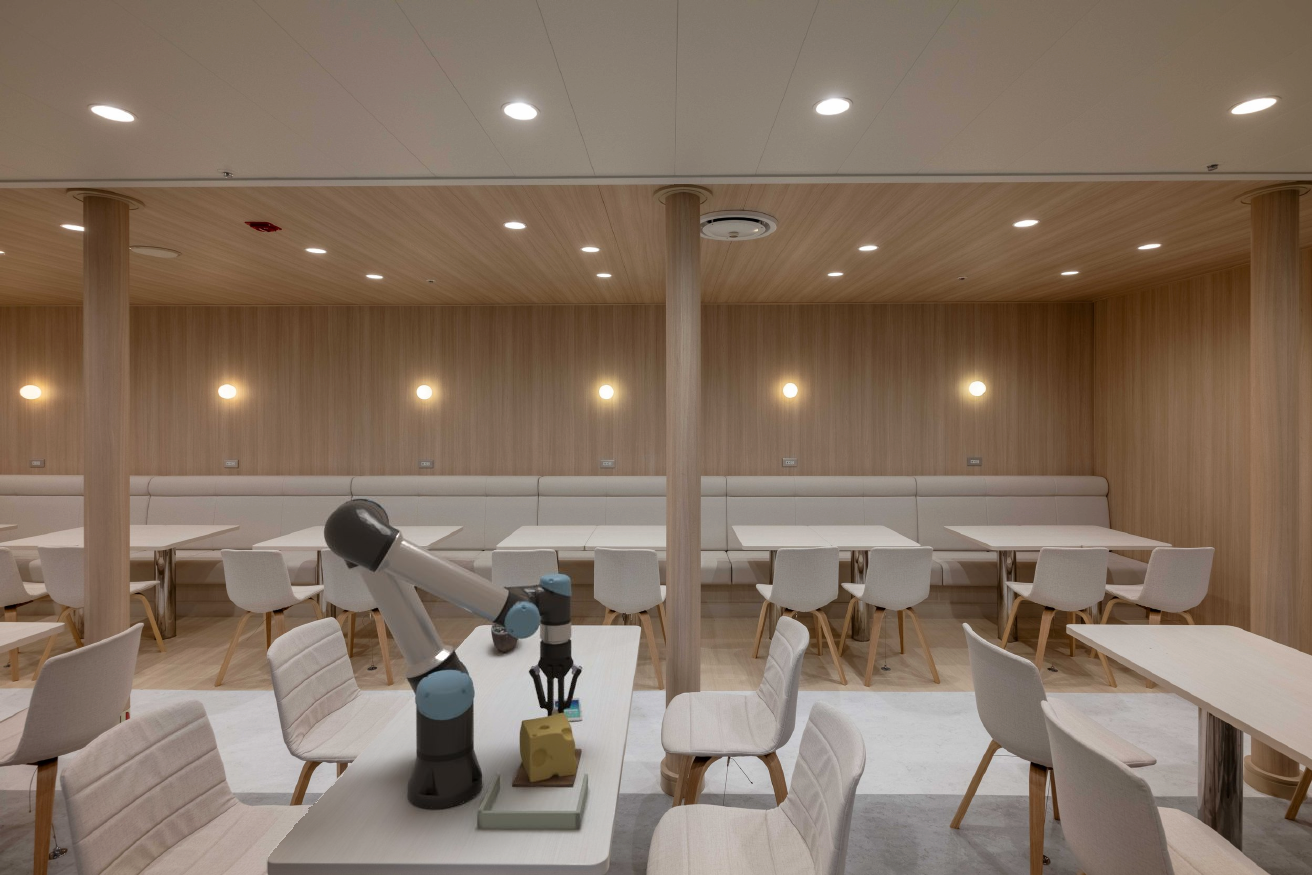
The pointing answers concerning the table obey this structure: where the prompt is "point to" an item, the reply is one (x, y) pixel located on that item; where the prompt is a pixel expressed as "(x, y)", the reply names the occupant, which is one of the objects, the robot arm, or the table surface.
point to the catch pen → (529, 813)
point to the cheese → (547, 747)
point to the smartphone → (572, 710)
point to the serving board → (554, 781)
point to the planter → (502, 638)
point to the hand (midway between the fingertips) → (555, 736)
